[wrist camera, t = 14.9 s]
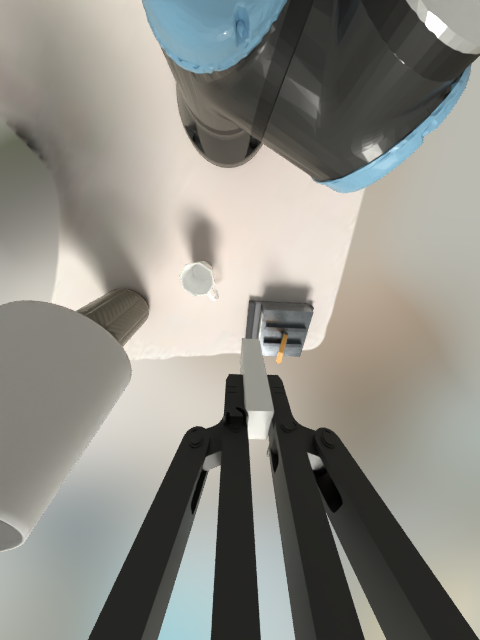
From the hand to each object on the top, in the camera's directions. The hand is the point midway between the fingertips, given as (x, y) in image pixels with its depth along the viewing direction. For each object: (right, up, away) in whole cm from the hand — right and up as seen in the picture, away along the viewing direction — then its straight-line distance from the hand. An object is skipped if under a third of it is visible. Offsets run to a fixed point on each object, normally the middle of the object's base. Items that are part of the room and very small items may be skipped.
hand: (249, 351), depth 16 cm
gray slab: (+2, +2, +34) cm, 34 cm away
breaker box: (+10, +1, +34) cm, 36 cm away
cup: (-9, +14, +27) cm, 32 cm away
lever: (+11, -2, +29) cm, 31 cm away
